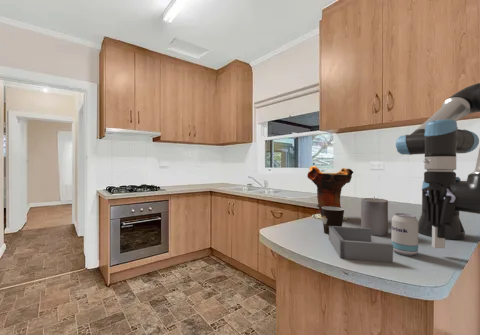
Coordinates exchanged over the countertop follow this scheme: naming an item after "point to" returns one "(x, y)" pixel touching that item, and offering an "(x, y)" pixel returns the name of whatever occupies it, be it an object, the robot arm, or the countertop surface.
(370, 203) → the pillar candle
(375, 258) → the box
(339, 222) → the coffee mug
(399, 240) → the beverage can
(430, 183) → the robot arm
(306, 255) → the countertop surface
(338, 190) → the decorative vase
